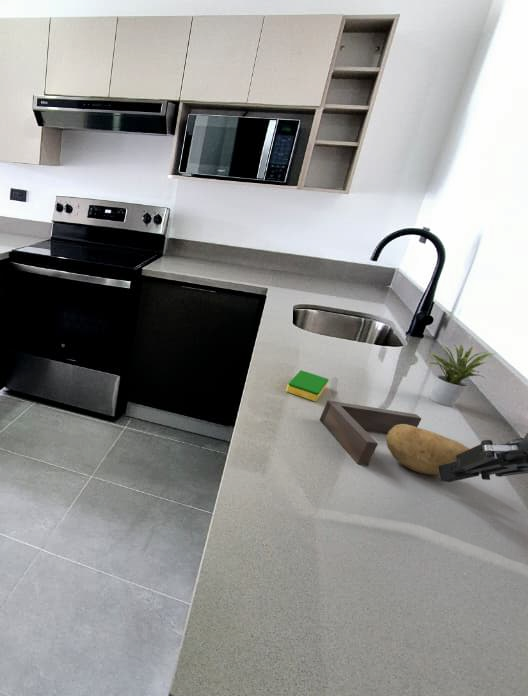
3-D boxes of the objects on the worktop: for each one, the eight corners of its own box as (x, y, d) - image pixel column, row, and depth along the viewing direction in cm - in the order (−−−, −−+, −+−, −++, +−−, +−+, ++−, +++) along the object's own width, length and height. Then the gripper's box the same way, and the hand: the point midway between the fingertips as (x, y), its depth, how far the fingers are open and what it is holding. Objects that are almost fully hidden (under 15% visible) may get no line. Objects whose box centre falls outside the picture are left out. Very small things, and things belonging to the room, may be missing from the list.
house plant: (442, 390, 142) (470, 336, 135) (488, 414, 130) (521, 356, 123) (401, 388, 139) (427, 333, 132) (444, 412, 127) (475, 352, 120)
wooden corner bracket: (406, 433, 112) (416, 414, 110) (459, 480, 95) (472, 458, 93) (319, 419, 112) (327, 400, 110) (357, 464, 96) (367, 441, 94)
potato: (464, 496, 90) (486, 458, 87) (376, 465, 97) (394, 429, 93) (457, 472, 98) (477, 437, 95) (376, 445, 104) (392, 412, 101)
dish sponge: (325, 387, 132) (329, 378, 131) (315, 402, 121) (318, 393, 120) (297, 377, 136) (300, 369, 135) (285, 391, 125) (288, 382, 124)
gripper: (618, 424, 70) (476, 459, 92) (524, 409, 70) (405, 448, 92) (632, 477, 67) (483, 500, 89) (534, 461, 67) (409, 488, 89)
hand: (443, 474), depth 91 cm, fingers closed
